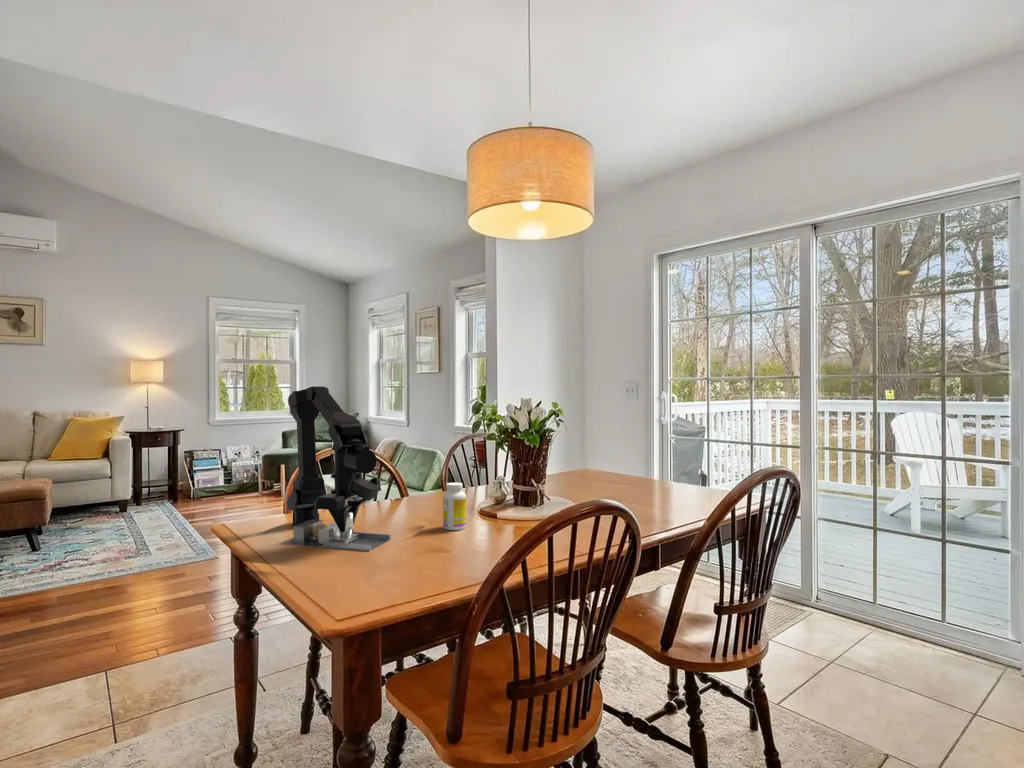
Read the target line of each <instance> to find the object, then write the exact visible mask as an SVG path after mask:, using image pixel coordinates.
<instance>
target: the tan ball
mask: <svg viewBox="0 0 1024 768" xmlns="http://www.w3.org/2000/svg"><path fill="white" fill-rule="evenodd" d="M324 526H327V524H325V523H322V524H318V525H316V526H315V527H314V529H313V532H312V533H313V536H314V538H316V539H318V529H320V528H322V527H324Z"/></svg>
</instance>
